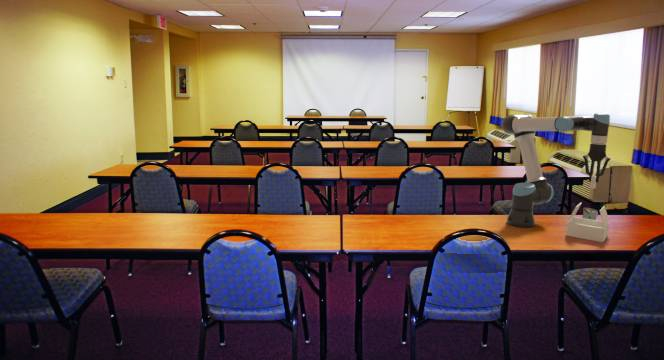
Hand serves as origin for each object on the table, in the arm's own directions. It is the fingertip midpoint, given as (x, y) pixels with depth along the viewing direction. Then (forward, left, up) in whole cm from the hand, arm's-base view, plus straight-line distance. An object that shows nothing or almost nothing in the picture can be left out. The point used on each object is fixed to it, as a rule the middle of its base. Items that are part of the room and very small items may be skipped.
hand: (592, 188), depth 269 cm
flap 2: (+7, 0, -14) cm, 16 cm away
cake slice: (-2, +20, -27) cm, 33 cm away
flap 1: (-7, 0, -14) cm, 16 cm away
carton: (0, 0, -26) cm, 26 cm away
